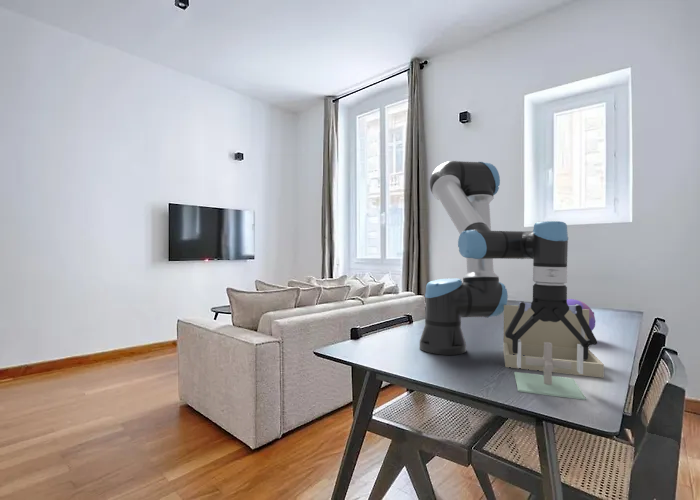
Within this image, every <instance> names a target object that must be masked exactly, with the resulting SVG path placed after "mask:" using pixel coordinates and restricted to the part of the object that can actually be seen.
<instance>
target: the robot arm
mask: <svg viewBox="0 0 700 500" xmlns="http://www.w3.org/2000/svg"><path fill="white" fill-rule="evenodd" d="M500 184H501V179H500V174H499V170H498V168H497V167H496V166H495V165H494V164H492V163H489V162H483V161H459V160H449V161H446V162H443V163H441V164H439V165H438V166H436V168H435V169H434V170H433V171H432V173H431V175H430V179H429V188H430V191H431V194H432V195H433V197H434V198H435V199H436V200H438V201H440V203H441V204H442V206H443V208H444V209H445V211H446V213H447V214H448V217H449V218H450V219H451V221H452V223H453V224H454V226H455V228H456V230H457V232H458V233H459V236H458V240H457V248H458V251H459V254H460V255H461V256H462V257H463V258H466V274H464V276H463V278H462V279H461V278H458V277H457V278H456V277H455V278H454V277H453V278H452V277H451V278H448V277H447V278H439V279H434V280H431V281H429V282H427V284H426V286H425V294H424V297H425V300H424V301H425V303H424V307H425V310H424V312H425V313H424V314H425V315H424V316H425V317H424V320H425V321H424V328H423V330H422V333H421V336H420V339H419V349H420V350H421V351H423V352H426V353H429V354H433V355H434V354H435V355H442V356H454V355H455V356H456V355H462V354H464V353H466V352H467V342H466V340H465V336H464V333H463V328H462V318H492V317H494V318H495V317H498V316H500V315H501V314H502V313H504V305H508V298H509V297H508V289H507V288H506V285H505V284H504V283H502V282H500V278H499V277H500V276H499V275H498V274H496V273H495V272H494V259H500V260H501V259H510V260H511V259H514V260H532V262H533V263H532V267H533V268H532V281H533V282H534V284H533V285H532V301H531V302H524V301H519V303H518V306H519V308H518V311H517V313H516V314H515V316H514V318H513V320H512V321H511V323H510V325H509V327H508V328H507V330H506V332H505V336H506V337H507V338H510V339H512V350H513V353H517V367H518V368H517V369H519V368H521V340H519V339H520V338H521V337H522V336H523V335H524V334H525V333H526V332H527V331H528V330H529V329H530V328H531V327H532V326H533V325H534V324H535V323H536V322H537V321H538V320H539V319H540V320H541V321H544V322H547V321H552V322H558V321H560V320H561V321H562V322H563V323H564V325H565V326H566V327H567V328H568V329H569V330H570V331H571V332H572V334H573V335H574V336H575V337H576V338H577V339H578V340H579V341H580V343H581V344H577V371H578V373H579V374H583V359H584V360H587V359H588V347H591V346H592V345H593V346H594V345H597V344H598V340H597V338H596V336H595V335H594V333H593V330H592V331H591V329H590V327H589V325H588V323H587V321H586V320H585V318H584V316H583V312H582V307H581V306H580V305H578V304H575V305H568V304H567V299H568V286H567V285H565V284H567V283H568V251H569V250H568V249H569V247H568V245H569V236H568V234H569V233H568V225H567V223H566V222H565V221H558V220H557V221H556V220H555V221H554V220H553V221H552V220H551V221H548V220H547V221H537V222H535V223H534V224H533V230H529V231H528V230H527V231H521V230H520V231H518V230H517V231H516V230H509V231H508V230H492V226H491V223H492V222H491V211H490V210H491V209H490V203H491V202H492V201H493V200H494V196H495V195H496V194H497V193H498V192H499V189H500V187H499V186H500ZM528 308H531V309H532V310H533V312H534V314H533V315H532V316H531V317H530V318H529V319H528V320H527V321H526V322H525V323H524V324H523V325H522V326H521V327H520V328H519V329H518V330H517V331H516V332H515V333H514V334H512V333H513V331H514V329H515V328H516V326H517V324H518V323H519V321H520V319H521V317H522V316H523V314H524V311H527V310H528ZM569 310H571V311H572V313H573V314H575V315H576V317H577V319H578V321H579V323H580V325H581V326H582V328H583V330H584V332H585V334H586V336H587V338H588V339H584V338H583V337H582V335H581V334H580V333H579V332H578V331H577V330H576V329H575V328H574V326H573V325H572V324H571V323H570V322H569V321H568V320H567V318H566V317H565V316H564V315H565V314H566V313H567V312H568V311H569Z"/></svg>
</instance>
